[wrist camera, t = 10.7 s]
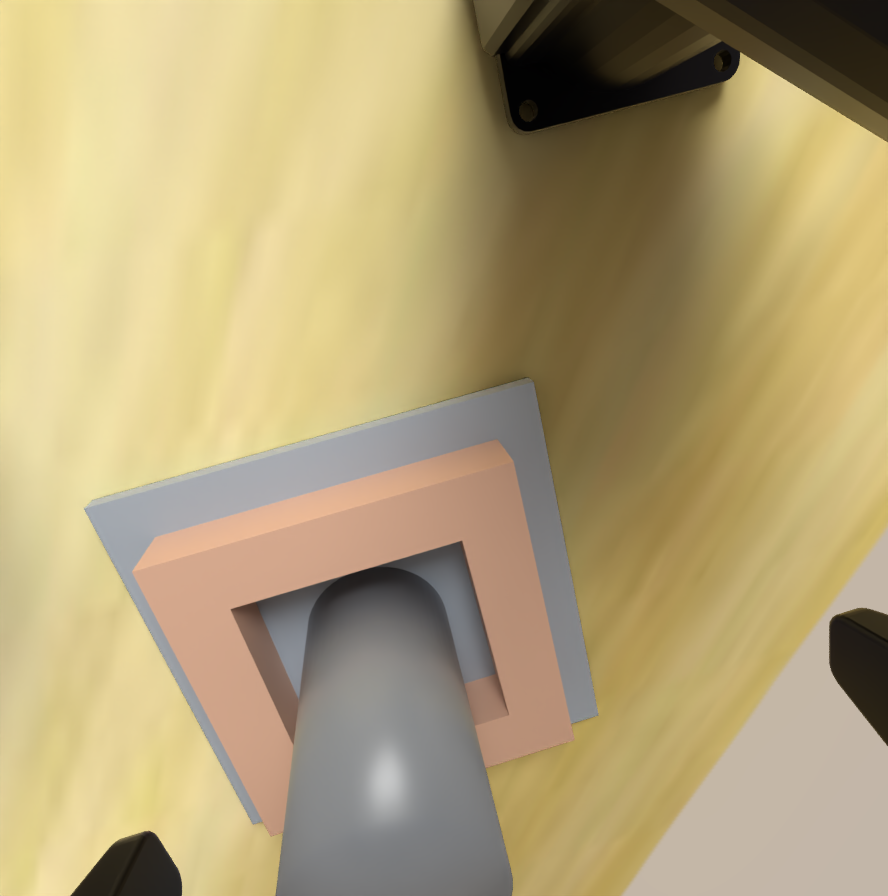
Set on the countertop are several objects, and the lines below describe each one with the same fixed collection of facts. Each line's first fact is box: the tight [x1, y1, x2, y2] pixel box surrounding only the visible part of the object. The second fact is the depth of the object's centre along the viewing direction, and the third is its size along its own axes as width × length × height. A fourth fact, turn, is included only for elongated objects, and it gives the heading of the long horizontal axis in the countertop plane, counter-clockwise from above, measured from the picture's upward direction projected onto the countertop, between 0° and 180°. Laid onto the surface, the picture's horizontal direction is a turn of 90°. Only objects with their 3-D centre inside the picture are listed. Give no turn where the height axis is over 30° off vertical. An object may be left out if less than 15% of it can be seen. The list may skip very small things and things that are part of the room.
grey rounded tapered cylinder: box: [276, 567, 513, 896], centre depth 16 cm, size 5×5×9 cm
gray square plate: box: [84, 378, 598, 836], centre depth 19 cm, size 14×14×3 cm
